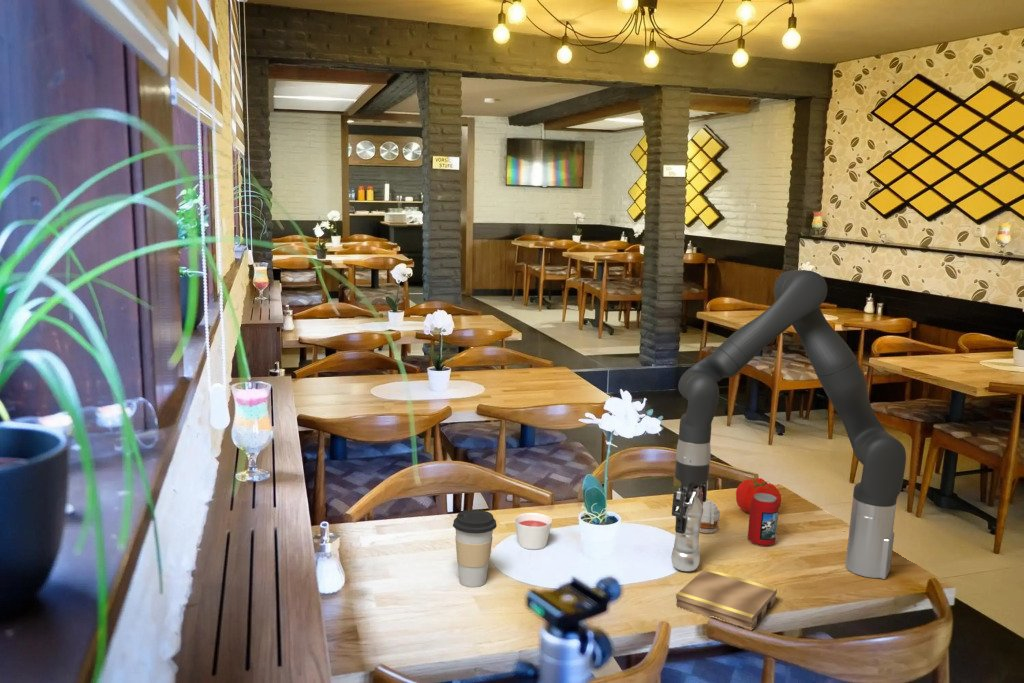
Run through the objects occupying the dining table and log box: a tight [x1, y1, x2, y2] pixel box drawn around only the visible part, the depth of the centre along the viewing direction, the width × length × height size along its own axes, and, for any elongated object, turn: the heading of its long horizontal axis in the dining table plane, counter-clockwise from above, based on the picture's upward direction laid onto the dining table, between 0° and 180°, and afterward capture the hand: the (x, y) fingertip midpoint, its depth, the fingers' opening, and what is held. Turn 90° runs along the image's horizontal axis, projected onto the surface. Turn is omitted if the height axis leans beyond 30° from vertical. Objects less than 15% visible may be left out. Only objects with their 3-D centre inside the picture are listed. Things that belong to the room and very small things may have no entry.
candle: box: [514, 512, 553, 550], centre depth 201 cm, size 9×9×6 cm
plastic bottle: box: [670, 486, 703, 572], centre depth 189 cm, size 6×7×20 cm
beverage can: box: [747, 493, 780, 547], centre depth 206 cm, size 7×7×12 cm
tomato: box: [735, 477, 782, 514], centre depth 228 cm, size 13×12×8 cm
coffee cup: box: [452, 509, 498, 588], centre depth 179 cm, size 9×9×15 cm
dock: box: [675, 567, 778, 629], centre depth 173 cm, size 16×16×3 cm
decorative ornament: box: [699, 480, 721, 534], centre depth 214 cm, size 8×8×15 cm
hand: (687, 527), depth 189 cm, fingers open, 8 cm apart
